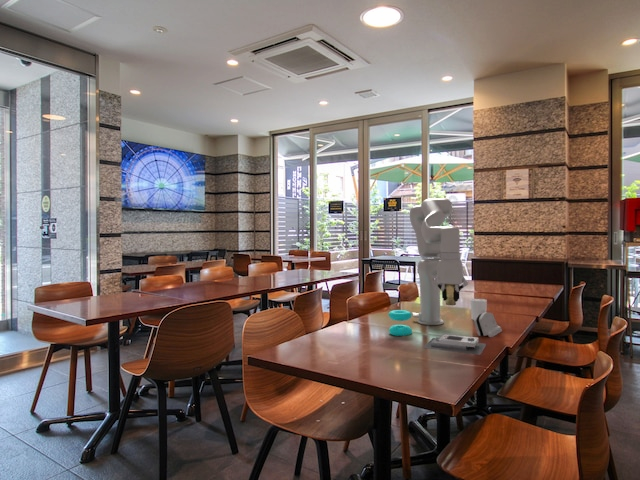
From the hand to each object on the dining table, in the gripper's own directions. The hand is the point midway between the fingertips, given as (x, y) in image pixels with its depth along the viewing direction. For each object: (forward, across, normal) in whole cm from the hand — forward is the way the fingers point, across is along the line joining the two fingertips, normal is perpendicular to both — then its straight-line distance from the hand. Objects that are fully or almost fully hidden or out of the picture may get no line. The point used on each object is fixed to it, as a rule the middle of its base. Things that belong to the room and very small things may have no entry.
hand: (450, 300), depth 169 cm
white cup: (+17, +4, +44) cm, 48 cm away
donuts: (+17, -22, 0) cm, 27 cm away
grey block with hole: (+16, +4, -12) cm, 20 cm away
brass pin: (+2, 0, 0) cm, 2 cm away
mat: (+16, +4, -12) cm, 20 cm away
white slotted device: (+17, +12, +17) cm, 27 cm away
